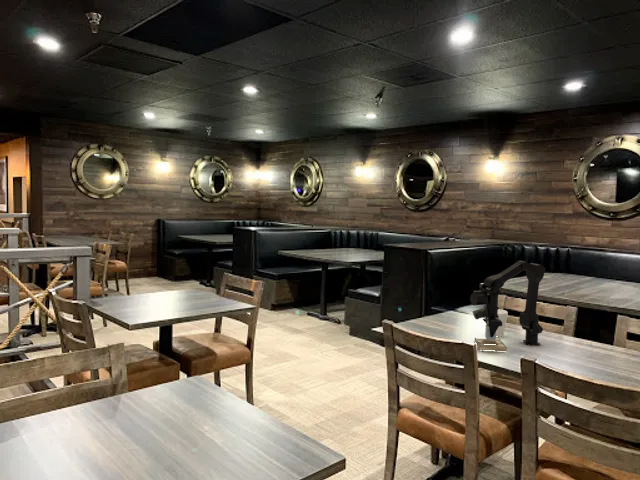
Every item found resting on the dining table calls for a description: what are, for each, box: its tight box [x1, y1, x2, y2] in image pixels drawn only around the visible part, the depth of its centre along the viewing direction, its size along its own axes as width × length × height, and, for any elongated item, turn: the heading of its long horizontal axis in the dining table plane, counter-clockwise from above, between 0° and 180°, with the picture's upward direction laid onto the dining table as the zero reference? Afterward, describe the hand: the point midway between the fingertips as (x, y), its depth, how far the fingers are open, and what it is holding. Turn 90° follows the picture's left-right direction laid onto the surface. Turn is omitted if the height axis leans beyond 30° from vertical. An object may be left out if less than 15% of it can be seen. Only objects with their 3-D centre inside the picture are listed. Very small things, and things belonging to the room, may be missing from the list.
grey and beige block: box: [484, 324, 497, 340], centre depth 233 cm, size 4×4×6 cm
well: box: [474, 337, 508, 351], centre depth 234 cm, size 14×12×2 cm
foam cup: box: [496, 308, 509, 338], centre depth 253 cm, size 10×9×13 cm
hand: (490, 335), depth 233 cm, fingers closed on grey and beige block, 4 cm apart
